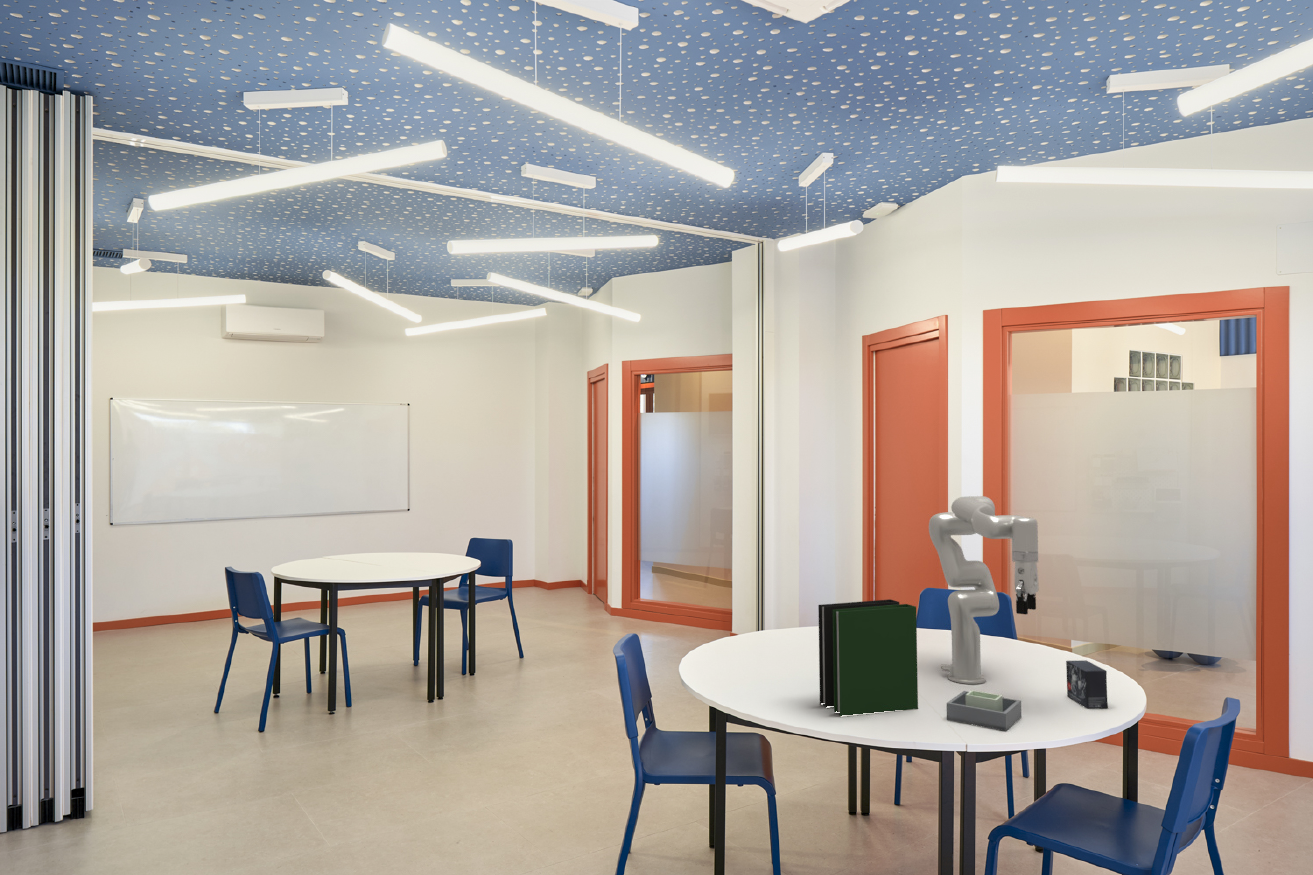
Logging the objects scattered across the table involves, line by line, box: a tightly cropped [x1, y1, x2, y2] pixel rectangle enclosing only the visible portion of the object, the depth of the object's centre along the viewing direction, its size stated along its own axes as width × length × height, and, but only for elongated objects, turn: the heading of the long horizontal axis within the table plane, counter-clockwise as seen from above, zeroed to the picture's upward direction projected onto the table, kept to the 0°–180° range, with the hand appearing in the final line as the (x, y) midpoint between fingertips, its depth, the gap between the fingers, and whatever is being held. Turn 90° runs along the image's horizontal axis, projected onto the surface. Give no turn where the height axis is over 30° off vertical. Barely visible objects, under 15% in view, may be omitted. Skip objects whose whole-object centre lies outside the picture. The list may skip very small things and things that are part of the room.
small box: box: [1065, 659, 1109, 710], centre depth 257 cm, size 13×7×12 cm, turn 178°
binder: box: [818, 598, 919, 717], centre depth 255 cm, size 27×15×32 cm, turn 107°
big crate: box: [946, 690, 1022, 732], centre depth 242 cm, size 17×16×5 cm
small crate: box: [966, 689, 1003, 712], centre depth 242 cm, size 9×6×6 cm, turn 51°
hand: (1026, 611), depth 252 cm, fingers open, 9 cm apart
